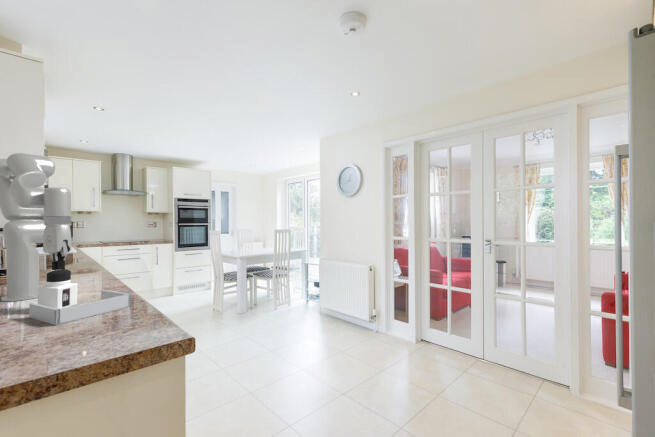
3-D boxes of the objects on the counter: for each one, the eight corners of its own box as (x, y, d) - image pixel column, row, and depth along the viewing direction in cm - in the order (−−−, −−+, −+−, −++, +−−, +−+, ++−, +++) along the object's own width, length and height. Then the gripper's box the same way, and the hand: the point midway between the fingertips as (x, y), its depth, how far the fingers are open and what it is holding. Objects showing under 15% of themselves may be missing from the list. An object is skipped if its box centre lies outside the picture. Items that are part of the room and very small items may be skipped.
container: (77, 304, 113) (78, 268, 113) (57, 310, 105) (58, 272, 105) (58, 302, 114) (59, 267, 113) (36, 309, 106) (37, 271, 106)
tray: (29, 317, 99) (29, 303, 99) (104, 301, 119) (104, 289, 119) (56, 325, 91) (56, 310, 91) (131, 306, 111) (131, 294, 111)
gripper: (34, 222, 113) (35, 272, 113) (55, 221, 106) (56, 274, 106) (60, 222, 120) (60, 269, 119) (80, 221, 113) (81, 271, 113)
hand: (58, 271), depth 113 cm, fingers closed
